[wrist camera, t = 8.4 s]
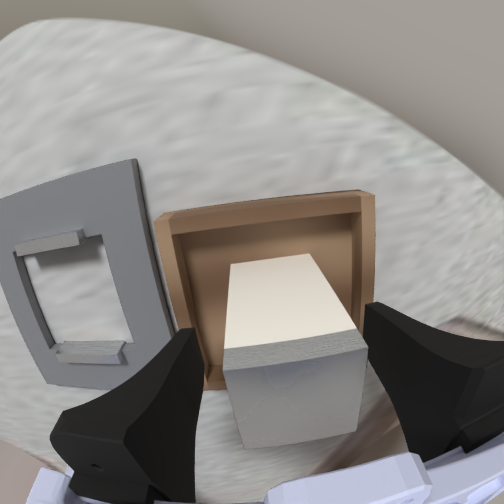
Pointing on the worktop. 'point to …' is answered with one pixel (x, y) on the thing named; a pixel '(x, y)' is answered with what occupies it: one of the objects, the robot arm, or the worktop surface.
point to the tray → (263, 256)
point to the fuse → (290, 354)
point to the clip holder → (120, 261)
